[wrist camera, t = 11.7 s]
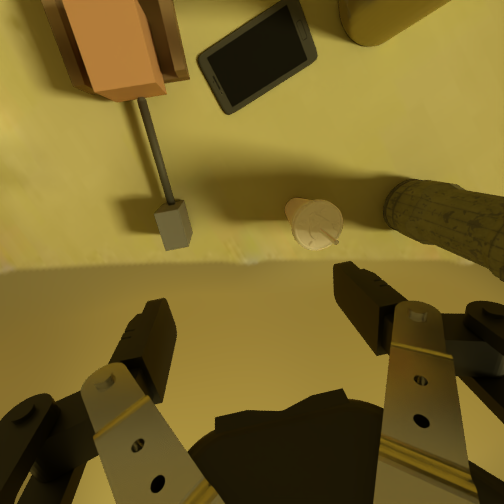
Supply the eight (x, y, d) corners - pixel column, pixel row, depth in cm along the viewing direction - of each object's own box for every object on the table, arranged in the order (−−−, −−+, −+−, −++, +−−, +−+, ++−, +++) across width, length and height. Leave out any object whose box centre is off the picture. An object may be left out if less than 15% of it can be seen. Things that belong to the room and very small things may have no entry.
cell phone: (317, 59, 33) (320, 58, 32) (226, 117, 34) (226, 117, 33) (294, -7, 30) (295, -11, 29) (195, 59, 31) (194, 57, 30)
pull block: (97, 33, 28) (61, -2, 22) (150, 25, 29) (131, -12, 22) (163, 238, 38) (152, 256, 32) (202, 230, 39) (199, 247, 32)
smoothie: (289, 236, 41) (322, 276, 28) (268, 204, 39) (293, 233, 26) (322, 213, 41) (371, 243, 28) (303, 179, 38) (347, 196, 25)
